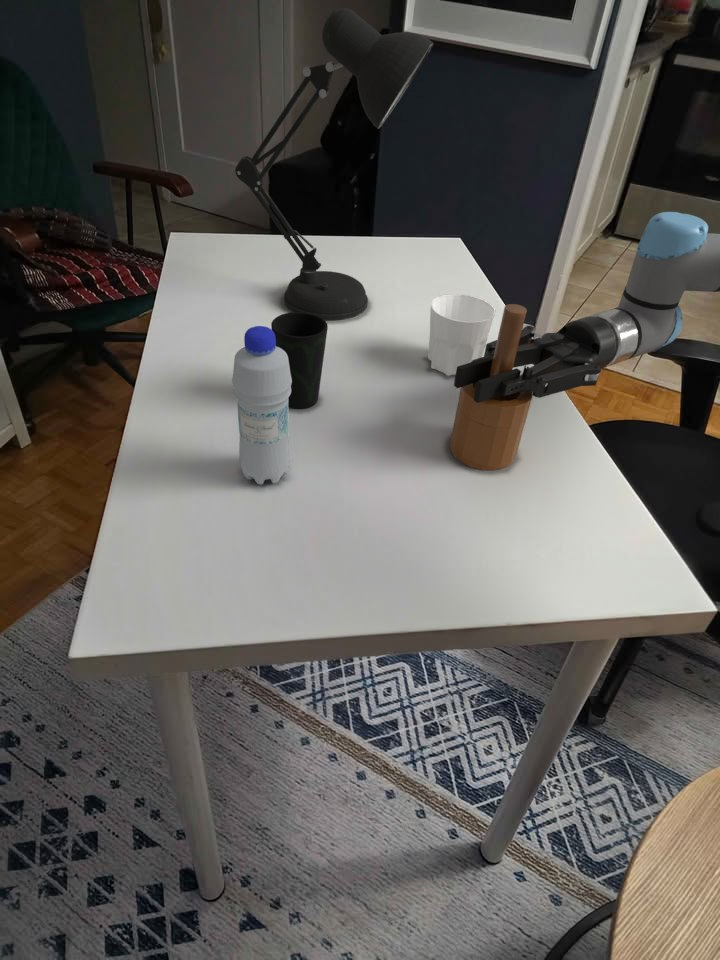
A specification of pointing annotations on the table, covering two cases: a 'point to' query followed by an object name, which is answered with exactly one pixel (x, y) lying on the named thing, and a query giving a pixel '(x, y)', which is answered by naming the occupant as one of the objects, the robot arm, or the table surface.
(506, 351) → the wooden handled pestle
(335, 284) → the desk lamp
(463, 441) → the wooden hollow tube
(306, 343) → the cup
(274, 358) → the bottle
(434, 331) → the cup
